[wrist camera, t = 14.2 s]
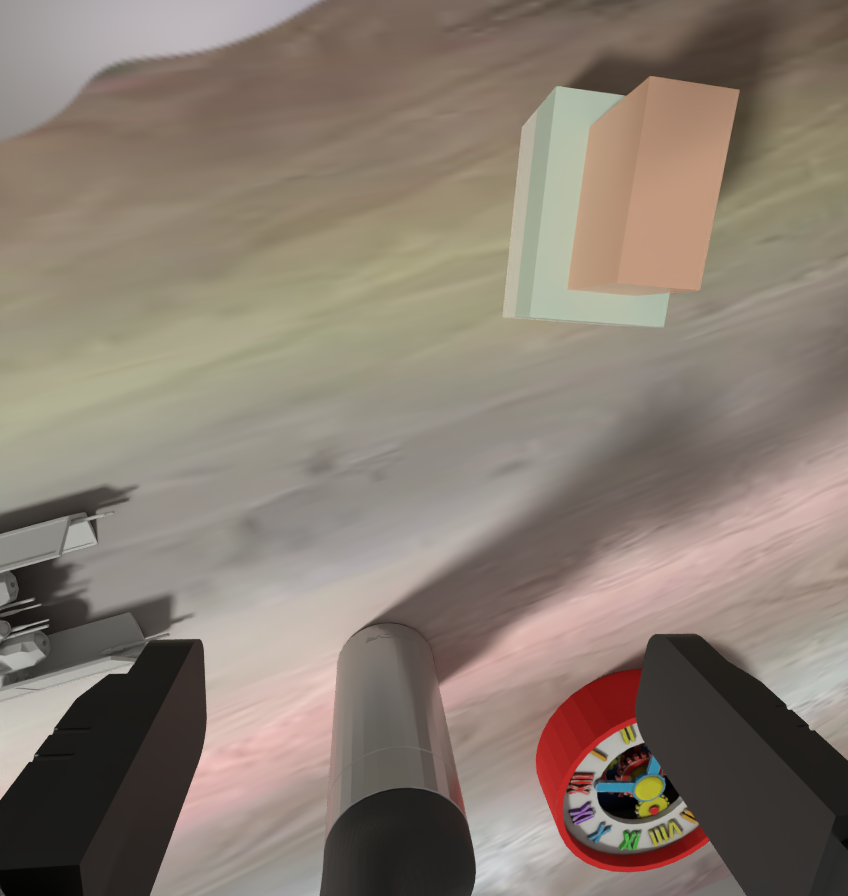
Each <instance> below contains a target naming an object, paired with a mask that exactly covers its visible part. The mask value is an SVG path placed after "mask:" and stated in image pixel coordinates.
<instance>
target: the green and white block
mask: <svg viewBox="0 0 848 896" xmlns="http://www.w3.org/2000/svg"><path fill="white" fill-rule="evenodd" d="M625 97H626V96H624V95H617V94H610V93H603V92H595V91H588V90H581V89H574V88H567V87H560V86H556V87H555V88H554V90H553V91H552V92H551V93H550V94H549V96H548V97H547V98H546V99H545V100H544V102H543V103H542V104H541V105H540V106H539V108H538V109H537V110H536V111H535V112H534V114H533V115H532V116H531V117H530V118H529V119H528V121H527V122H526V123H525V124H524V125H523V127H522V132H521V141H520V151H519V161H518V170H517V180H516V190H515V199H514V209H513V219H512V229H511V238H510V248H509V258H508V267H507V277H506V287H505V296H504V306H503V316H502V318H516V319H529V320H543V321H556V322H570V323H584V324H597V325H611V326H637V327H664V322H665V316H666V311H667V305H668V300H669V294H670V293H665V294H653V295H641V296H630V295H619V294H608V293H597V292H586V291H575V290H567V287H568V280H569V273H570V265H571V258H572V251H573V244H574V237H575V229H576V222H577V215H578V208H579V201H580V193H581V186H582V179H583V172H584V165H585V157H586V150H587V143H588V136H589V128H590V126H591V125H593V124H594V123H595V122H596V121H597V120H598V119H600V118H601V117H602V116H603V115H604V114H606V113H607V112H608V111H609V110H610V109H612V108H613V107H614V106H615V105H616V104H618V103H619V102H620V101H621V100H622V99H624V98H625Z"/></svg>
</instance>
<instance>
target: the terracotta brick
mask: <svg viewBox="0 0 848 896" xmlns="http://www.w3.org/2000/svg"><path fill="white" fill-rule="evenodd" d="M739 91H740V90H738V89H731V88H725V87H719V86H712V85H706V84H699V83H693V82H686V81H680V80H674V79H667V78H661V77H654V76H650V77H649V78H647V79H646V80H645V81H644V82H643V83H641V84H640V85H639V86H638V87H637V88H635V89H634V90H633V91H632V92H631V93H629V94H628V95H627V96H626V97H625V98H624V99H622V100H621V101H620V102H619V103H618V104H616V105H615V106H614V107H613V108H612V109H610V110H609V111H608V112H607V113H606V114H604V115H603V116H602V117H601V118H600V119H598V120H597V121H596V122H595V123H594V124H593V125H591V126H590V128H589V136H588V143H587V150H586V157H585V165H584V172H583V179H582V186H581V193H580V201H579V208H578V215H577V222H576V229H575V237H574V244H573V251H572V258H571V265H570V273H569V280H568V287H567V290H575V291H586V292H597V293H608V294H619V295H630V296H641V295H653V294H665V293H677V292H689V291H700V286H701V281H702V276H703V271H704V266H705V261H706V256H707V251H708V246H709V241H710V236H711V231H712V226H713V221H714V216H715V211H716V206H717V201H718V196H719V191H720V186H721V181H722V176H723V171H724V166H725V161H726V156H727V151H728V146H729V141H730V136H731V131H732V126H733V121H734V116H735V111H736V106H737V101H738V96H739Z"/></svg>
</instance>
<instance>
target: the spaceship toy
mask: <svg viewBox="0 0 848 896" xmlns="http://www.w3.org/2000/svg"><path fill="white" fill-rule="evenodd" d="M111 514H114V511H111V512H107V513H102V514H98V515H94V516H91V517H88V516H87V514H86V512H82V513H78V514H73V515H69V516H65V517H61V518H58V519H54V520H50V521H47V522H43V523H39V524H35V525H32V526H28V527H24V528H21V529H17V530H13V531H10V532H6V533H2V534H0V611H1V610H3V609H6V608H9V607H13V606H16V605H20V604H24V603H27V602H31V601H34V600H35V598H30V599H26V600H23V601H19V602H16V603H12V604H8V605H5V606H2V605H4V604H7V603H10V602H12V601H15V600H16V598H17V594H18V590H19V588H18V584H17V580H16V577H15V576H14V575H13V574H12V573H11V572H10V571H9V570H13V569H16V568H20V567H24V566H27V565H31V564H34V563H38V562H42V561H45V560H49V559H53V558H56V557H60V556H62V554H63V553H67V552H70V551H74V550H78V549H82V548H85V547H89V546H93V545H96V544H98V542H97V539H96V535H95V532H94V529H93V527H92V525H91V523H90V521H89V520H93V519H97V518H100V517H104V516H108V515H111ZM91 542H93V543H91ZM87 543H89V544H87ZM84 544H86V545H84ZM80 545H82V546H80ZM76 546H78V547H76ZM73 547H75V548H73ZM69 548H71V549H69ZM65 549H67V550H65ZM63 550H64V551H63ZM40 605H41V604H37V605H34V606H30V607H26V608H23V609H17V610H11V611H8V612H4V613H1V614H0V618H2V617H5V616H9V615H12V614H15V613H18V612H20V611H23V610H26V609H30V608H33V607H37V606H40ZM46 621H49V619H46V620H42V621H39V622H35V623H32V624H27V625H21V626H17V627H13V628H11V626H10V624H9V623H8V622H7V621H4V620H0V702H4V701H7V700H11V699H14V698H18V697H21V696H25V695H28V694H32V693H35V692H39V691H42V690H46V689H49V688H53V687H56V686H60V685H63V684H67V683H70V682H73V681H77V680H80V679H84V678H87V677H91V676H94V675H98V674H101V673H105V672H108V671H112V670H115V669H119V668H122V667H126V666H129V665H133V664H134V663H135V661H136V660H137V658H138V657H139V655H140V654H141V652H142V651H143V649H144V648H145V646H146V645H147V642H150V641H151V640H157V639H160V638H164V637H167V636H169V635H170V634H169V633H167V634H164V635H160V636H157V637H153V638H150V639H146V640H145V638H144V636H143V634H142V632H141V629H140V627H139V625H138V623H137V621H136V619H135V618H134V617H133V615H132V614H131V612H128V613H124V614H121V615H117V616H113V617H110V618H106V619H103V620H99V621H96V622H92V623H89V624H85V625H82V626H78V627H74V628H71V629H67V630H64V631H60V632H57V633H53V634H50V635H45V634H44V633H43V632H42V631H41V630H40V629H44V628H48V627H49V624H47V625H43V626H40V627H36V628H32V629H29V630H25V631H22V632H18V633H13V634H11V635H9V634H10V633H11V632H14V631H18V630H21V629H24V628H26V627H28V626H31V625H35V624H39V623H42V622H46Z"/></svg>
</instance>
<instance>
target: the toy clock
mask: <svg viewBox="0 0 848 896" xmlns="http://www.w3.org/2000/svg"><path fill="white" fill-rule="evenodd" d="M641 673H642V669H636V670H627V671H622V672H617V673H613V674H610V675H607V676H605V677H602V678H599V679H597V680H595V681H593V682H591V683H589V684H587V685H585V686H584V687H582V688H581V689H580V690H578V691H577V692H575V693H574V694H573V695H571V696H570V697H569V698H568V699H567V700H566V701H565V702H564V703H563V704H562V705H561V706H560V707H559V708H558V709H557V710H556V712H555V713H554V714H553V715H552V717H551V718H550V719H549V721H548V723H547V725H546V727H545V728H544V730H543V732H542V735H541V738H540V741H539V744H538V747H537V754H536V769H537V775H538V778H539V781H540V785H541V787H542V790H543V792H544V795H545V797H546V800H547V803H548V805H549V808H550V810H551V813H552V815H553V818H554V821H555V823H556V826H557V828H558V831H559V833H560V836H561V837H562V839H563V841H564V843H565V844H566V846H567V847H568V848H569V849H570V850H571V851H572V852H573V854H574V855H575V856H577V857H578V858H580V859H581V860H583V861H584V862H586V863H588V864H590V865H592V866H595V867H597V868H600V869H605V870H609V871H614V872H638V871H646V870H651V869H655V868H660V867H663V866H665V865H668V864H671V863H674V862H676V861H678V860H680V859H682V858H684V857H686V856H688V855H690V854H692V853H693V852H695V851H696V850H698V849H699V848H701V847H702V846H704V845H705V844H706V843H707V842H709V841H710V840H709V839H708V837H707V836H706V834H705V833H704V831H703V830H702V828H701V827H700V825H699V824H698V822H697V821H696V819H695V818H694V816H693V815H692V813H691V812H690V810H689V809H688V807H687V806H686V804H685V803H684V801H683V800H682V798H681V797H680V795H679V794H678V792H677V791H676V789H675V788H674V786H673V785H672V783H671V782H670V780H669V779H668V777H667V776H666V774H665V773H664V771H663V770H662V768H661V767H660V765H659V764H658V762H657V761H656V759H655V758H654V756H653V755H652V753H651V752H650V750H649V749H648V747H647V746H646V744H645V742H644V741H643V739H642V737H641V735H640V732H639V729H638V726H637V721H636V715H635V703H636V698H637V693H638V688H639V683H640V678H641Z"/></svg>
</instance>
